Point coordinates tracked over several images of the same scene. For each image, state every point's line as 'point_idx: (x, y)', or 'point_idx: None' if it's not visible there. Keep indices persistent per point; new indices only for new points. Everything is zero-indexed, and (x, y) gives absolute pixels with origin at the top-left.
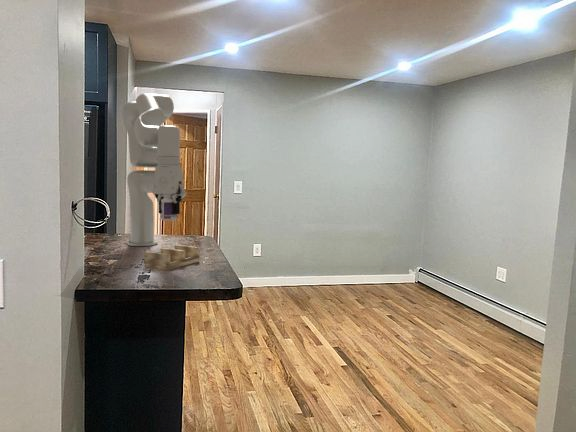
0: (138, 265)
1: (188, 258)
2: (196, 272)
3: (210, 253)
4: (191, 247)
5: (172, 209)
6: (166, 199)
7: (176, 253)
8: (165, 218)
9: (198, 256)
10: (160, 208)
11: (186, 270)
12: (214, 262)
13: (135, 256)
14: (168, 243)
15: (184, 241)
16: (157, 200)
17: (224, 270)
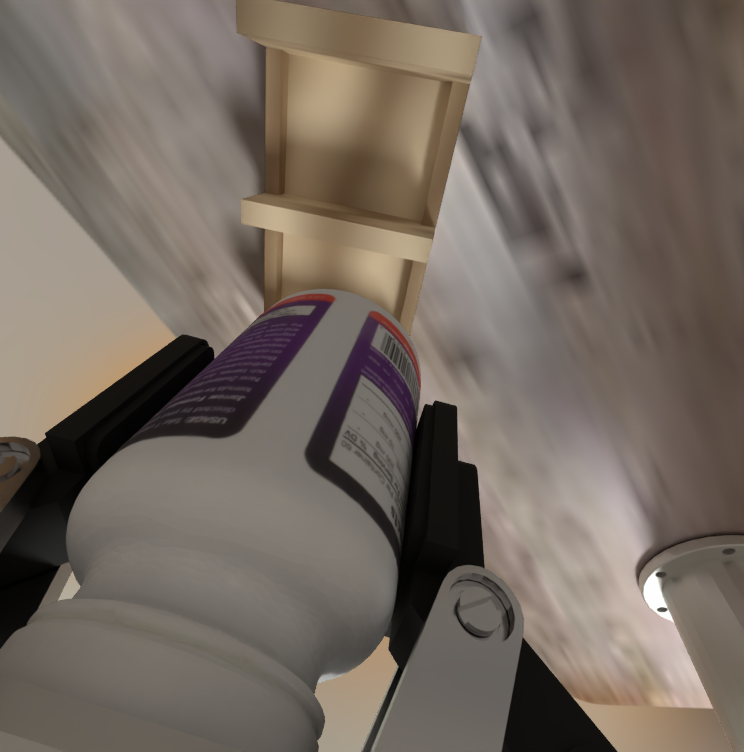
0: (540, 88)
1: (265, 244)
2: (121, 58)
3: None
4: None
5: (160, 371)
6: (142, 516)
7: (301, 207)
8: (314, 295)
9: None
10: (421, 445)
11: (197, 85)
12: (207, 320)
13: (661, 331)
14: (589, 596)
15: (535, 626)
16: (511, 611)
17: (58, 174)
